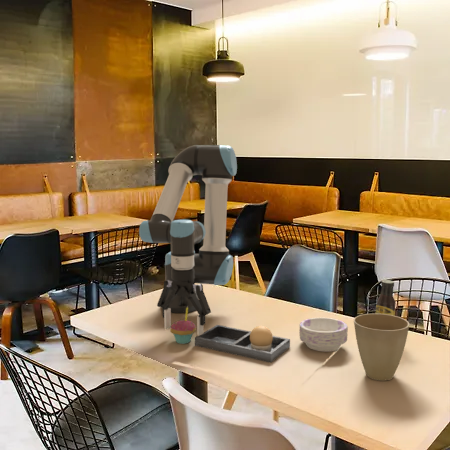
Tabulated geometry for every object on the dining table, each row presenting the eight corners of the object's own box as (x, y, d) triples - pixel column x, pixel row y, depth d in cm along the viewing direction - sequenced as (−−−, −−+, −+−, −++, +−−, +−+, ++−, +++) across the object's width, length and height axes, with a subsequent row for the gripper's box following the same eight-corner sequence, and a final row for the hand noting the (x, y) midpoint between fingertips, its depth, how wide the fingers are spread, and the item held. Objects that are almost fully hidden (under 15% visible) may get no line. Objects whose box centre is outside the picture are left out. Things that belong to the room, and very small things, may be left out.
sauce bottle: (370, 338, 182) (372, 281, 179) (379, 333, 186) (381, 277, 183) (388, 343, 177) (391, 284, 174) (397, 338, 182) (400, 281, 179)
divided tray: (194, 347, 173) (194, 337, 173) (217, 334, 185) (217, 324, 185) (271, 365, 160) (271, 353, 159) (289, 349, 172) (290, 339, 171)
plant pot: (403, 367, 159) (406, 314, 156) (409, 389, 144) (412, 332, 142) (351, 362, 162) (353, 311, 159) (351, 383, 148) (353, 328, 145)
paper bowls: (296, 338, 181) (297, 316, 180) (342, 339, 181) (343, 316, 180) (301, 356, 166) (302, 332, 165) (351, 357, 166) (352, 332, 165)
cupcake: (185, 334, 185) (184, 301, 183) (201, 341, 179) (201, 306, 177) (165, 341, 179) (164, 306, 177) (181, 348, 173) (181, 312, 171)
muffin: (245, 352, 168) (245, 328, 167) (256, 344, 174) (256, 321, 173) (266, 356, 164) (266, 332, 163) (276, 348, 170) (276, 325, 169)
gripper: (145, 265, 178) (147, 328, 181) (208, 274, 166) (209, 340, 169) (159, 261, 184) (160, 322, 187) (221, 269, 172) (221, 333, 175)
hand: (183, 331), depth 178 cm, fingers open, 12 cm apart
